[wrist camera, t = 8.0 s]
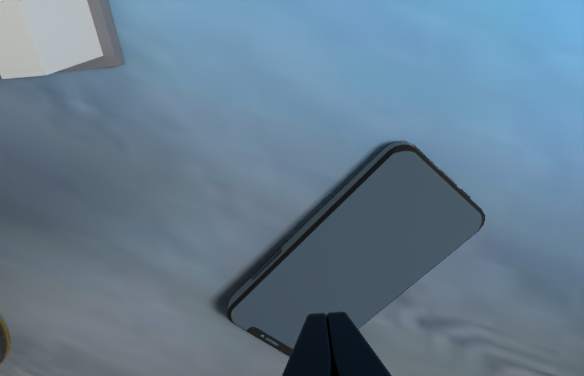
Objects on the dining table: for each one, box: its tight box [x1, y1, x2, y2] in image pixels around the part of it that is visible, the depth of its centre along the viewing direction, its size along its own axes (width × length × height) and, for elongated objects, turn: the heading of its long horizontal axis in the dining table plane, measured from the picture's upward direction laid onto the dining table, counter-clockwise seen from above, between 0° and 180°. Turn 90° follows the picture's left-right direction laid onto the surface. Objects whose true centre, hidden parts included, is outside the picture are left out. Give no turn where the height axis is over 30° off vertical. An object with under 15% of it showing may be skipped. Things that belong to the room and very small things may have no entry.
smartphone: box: [227, 141, 485, 357], centre depth 23 cm, size 8×2×15 cm
